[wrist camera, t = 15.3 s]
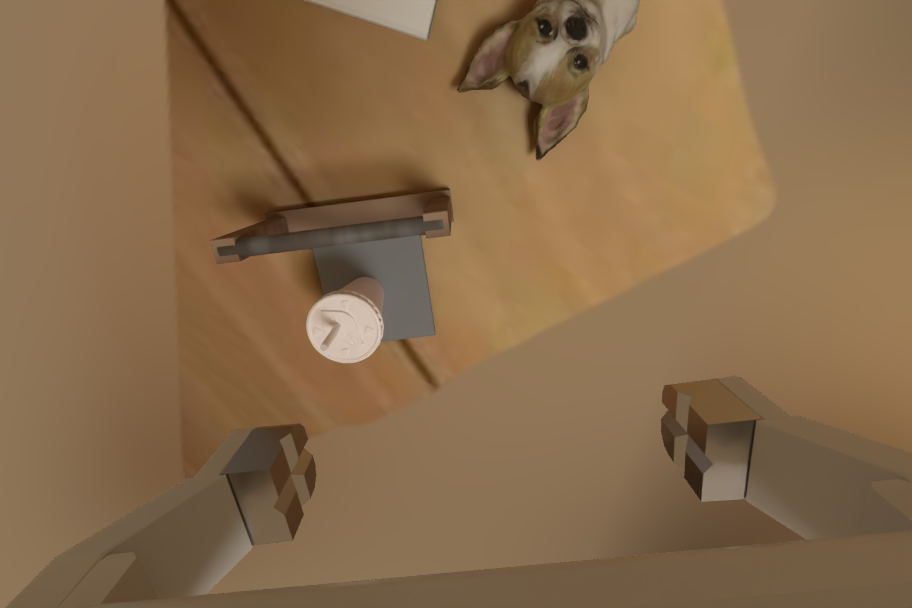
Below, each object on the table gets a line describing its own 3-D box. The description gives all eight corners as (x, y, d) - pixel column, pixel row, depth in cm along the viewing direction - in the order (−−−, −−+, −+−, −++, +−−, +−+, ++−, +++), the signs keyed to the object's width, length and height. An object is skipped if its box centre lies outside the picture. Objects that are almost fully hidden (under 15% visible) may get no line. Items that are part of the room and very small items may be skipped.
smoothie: (364, 251, 44) (325, 294, 30) (409, 295, 45) (390, 354, 32) (323, 292, 45) (267, 351, 32) (368, 333, 47) (333, 405, 33)
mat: (313, 247, 44) (312, 248, 43) (420, 233, 43) (419, 234, 43) (336, 344, 48) (335, 346, 47) (435, 333, 47) (435, 335, 47)
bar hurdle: (269, 211, 43) (205, 233, 32) (449, 189, 42) (447, 202, 31) (277, 241, 44) (217, 272, 33) (453, 219, 43) (452, 243, 32)
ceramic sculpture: (706, -11, 29) (553, 171, 34) (656, 20, 37) (539, 163, 42) (592, -135, 27) (447, 78, 32) (566, -74, 35) (453, 88, 40)
